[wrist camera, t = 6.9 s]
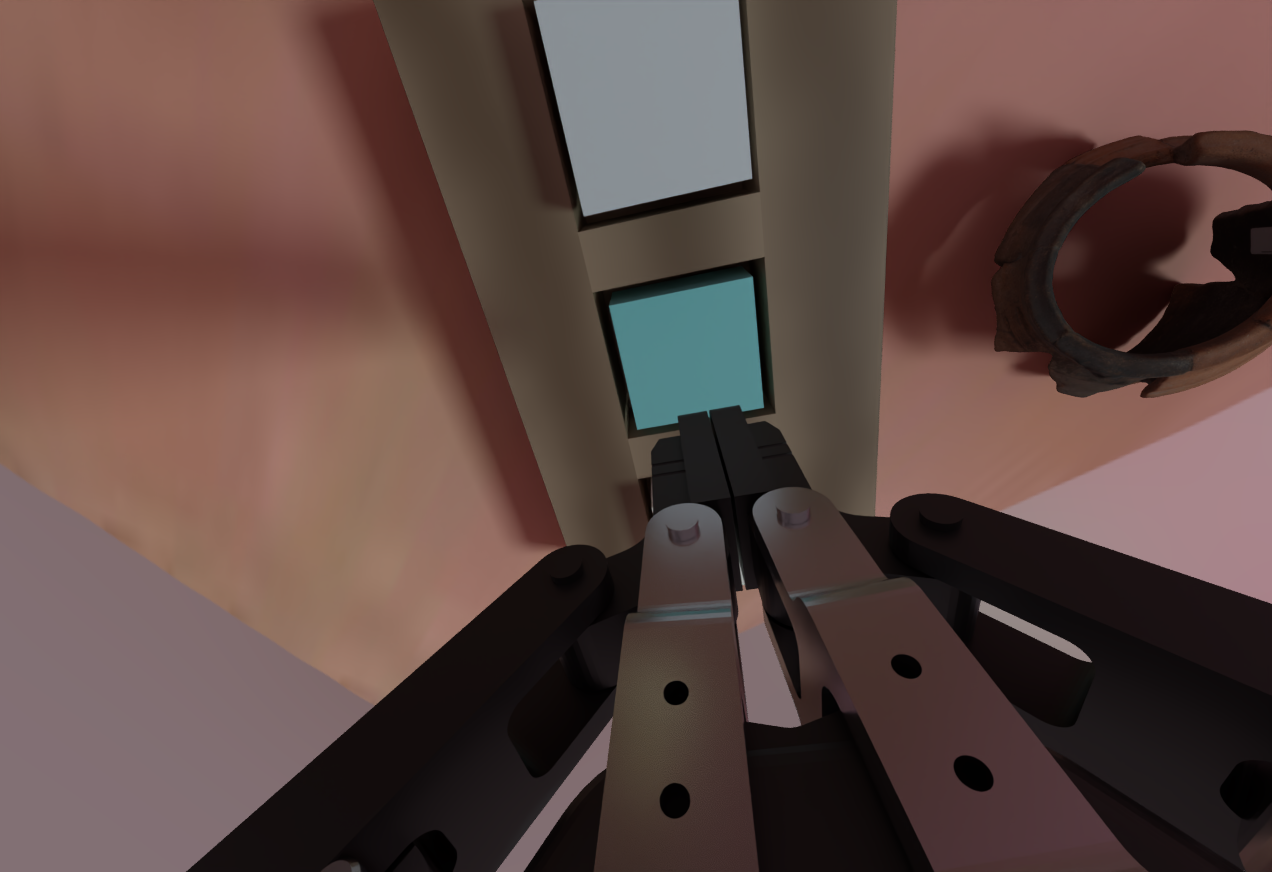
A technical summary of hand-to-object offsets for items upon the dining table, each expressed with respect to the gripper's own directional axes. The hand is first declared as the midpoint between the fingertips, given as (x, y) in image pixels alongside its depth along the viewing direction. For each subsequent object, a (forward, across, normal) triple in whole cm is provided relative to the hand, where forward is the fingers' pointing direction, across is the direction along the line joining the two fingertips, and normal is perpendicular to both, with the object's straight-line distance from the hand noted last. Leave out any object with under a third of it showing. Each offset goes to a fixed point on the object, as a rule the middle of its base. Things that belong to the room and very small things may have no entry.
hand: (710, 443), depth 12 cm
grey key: (+8, 0, -8) cm, 11 cm away
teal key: (+9, 0, 0) cm, 9 cm away
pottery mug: (+11, -18, +1) cm, 21 cm away
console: (+11, 0, 0) cm, 11 cm away
